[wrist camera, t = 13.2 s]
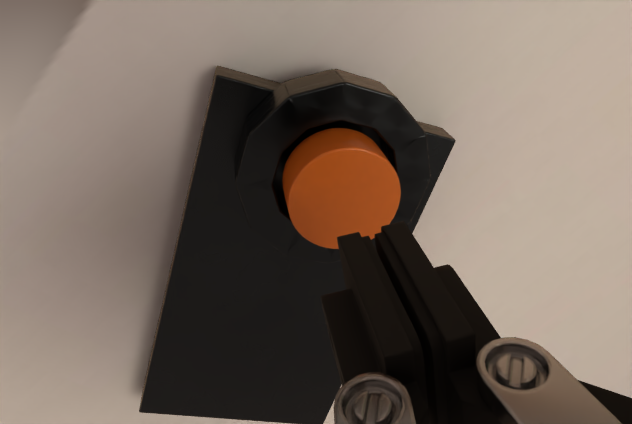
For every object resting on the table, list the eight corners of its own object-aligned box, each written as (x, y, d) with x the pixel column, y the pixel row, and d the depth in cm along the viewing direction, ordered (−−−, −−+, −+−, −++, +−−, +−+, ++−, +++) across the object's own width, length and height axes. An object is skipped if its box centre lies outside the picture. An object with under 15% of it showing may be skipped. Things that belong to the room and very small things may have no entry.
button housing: (224, 28, 17) (225, 47, 14) (456, 98, 19) (493, 124, 17) (142, 390, 24) (133, 446, 21) (318, 405, 27) (328, 456, 24)
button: (300, 114, 16) (308, 134, 14) (401, 141, 17) (419, 163, 15) (269, 212, 17) (274, 239, 16) (364, 231, 18) (376, 258, 17)
